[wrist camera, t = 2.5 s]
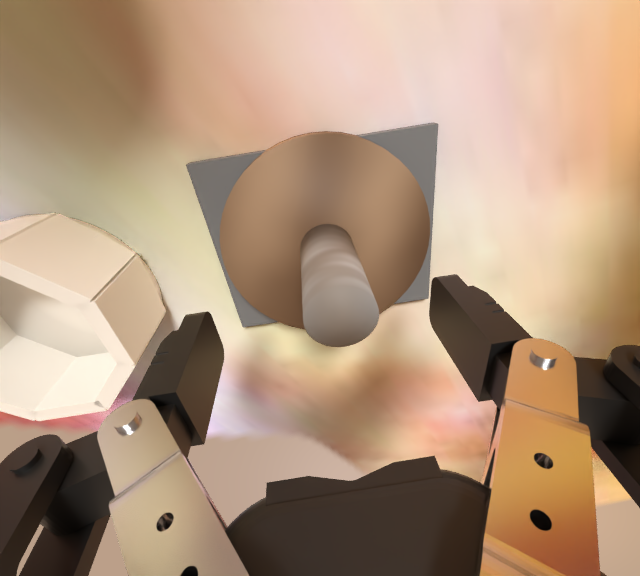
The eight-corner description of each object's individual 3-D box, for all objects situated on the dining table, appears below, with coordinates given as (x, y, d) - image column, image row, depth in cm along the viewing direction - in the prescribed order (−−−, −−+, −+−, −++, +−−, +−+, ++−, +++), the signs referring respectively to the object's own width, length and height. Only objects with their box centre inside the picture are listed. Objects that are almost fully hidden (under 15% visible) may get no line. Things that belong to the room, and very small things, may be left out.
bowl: (117, 200, 16) (54, 239, 12) (185, 340, 21) (159, 402, 17) (-66, 230, 16) (-193, 279, 12) (46, 362, 21) (-15, 429, 17)
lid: (427, 113, 14) (520, 128, 9) (420, 305, 20) (472, 394, 14) (192, 152, 15) (124, 192, 9) (252, 332, 20) (235, 429, 15)
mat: (433, 122, 15) (438, 123, 15) (425, 293, 21) (428, 298, 20) (189, 162, 15) (186, 164, 15) (244, 321, 21) (242, 327, 20)
